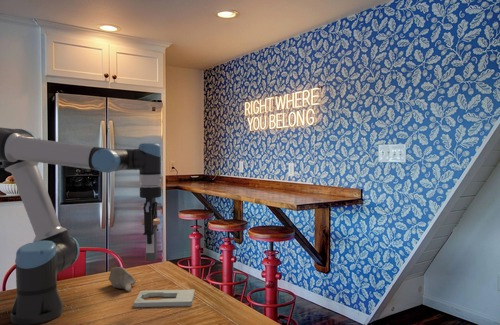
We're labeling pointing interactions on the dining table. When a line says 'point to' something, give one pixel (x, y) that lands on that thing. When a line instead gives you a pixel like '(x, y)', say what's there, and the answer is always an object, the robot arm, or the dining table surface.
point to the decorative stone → (121, 278)
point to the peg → (154, 255)
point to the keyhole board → (181, 299)
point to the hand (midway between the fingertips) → (151, 250)
